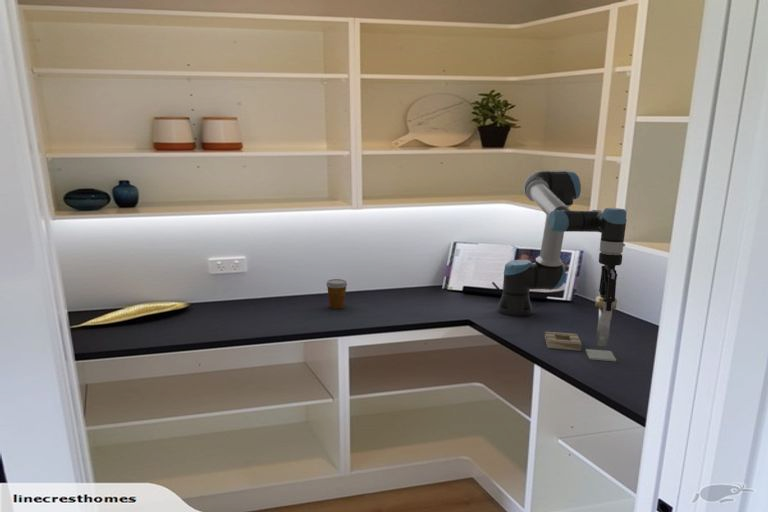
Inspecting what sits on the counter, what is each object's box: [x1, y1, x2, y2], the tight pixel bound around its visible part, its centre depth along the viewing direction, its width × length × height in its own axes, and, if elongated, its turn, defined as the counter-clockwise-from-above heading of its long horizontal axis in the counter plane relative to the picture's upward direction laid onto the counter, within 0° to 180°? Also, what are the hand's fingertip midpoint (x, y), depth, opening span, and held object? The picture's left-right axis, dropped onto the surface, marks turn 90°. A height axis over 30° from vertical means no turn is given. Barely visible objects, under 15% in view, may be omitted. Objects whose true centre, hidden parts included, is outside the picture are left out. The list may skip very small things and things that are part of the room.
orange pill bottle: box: [326, 278, 348, 310], centre depth 255 cm, size 10×10×12 cm
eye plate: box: [544, 331, 583, 352], centre depth 214 cm, size 12×12×2 cm
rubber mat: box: [584, 348, 617, 363], centre depth 203 cm, size 9×9×1 cm
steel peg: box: [594, 295, 618, 347], centre depth 200 cm, size 7×7×17 cm
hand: (604, 316), depth 200 cm, fingers closed on steel peg, 7 cm apart
